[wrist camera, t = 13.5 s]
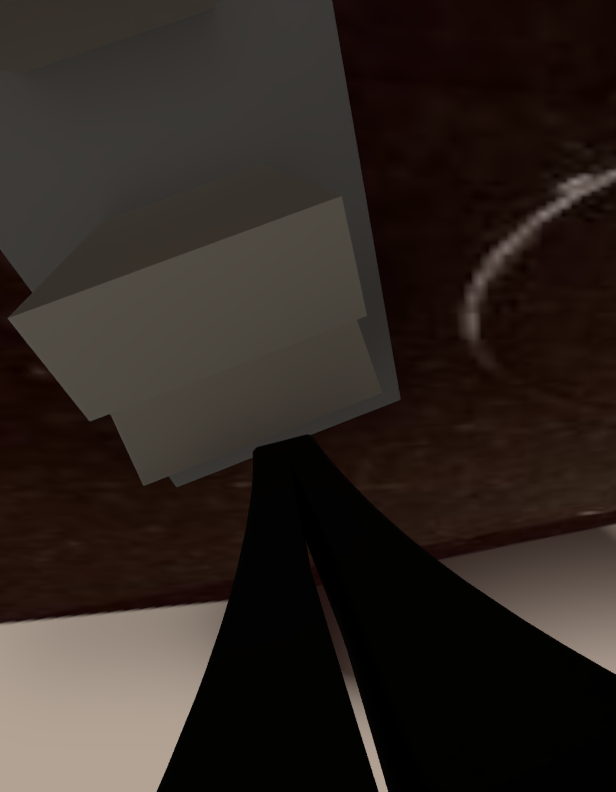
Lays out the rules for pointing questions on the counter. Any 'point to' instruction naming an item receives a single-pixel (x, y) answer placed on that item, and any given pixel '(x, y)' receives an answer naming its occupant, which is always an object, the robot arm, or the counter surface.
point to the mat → (187, 145)
